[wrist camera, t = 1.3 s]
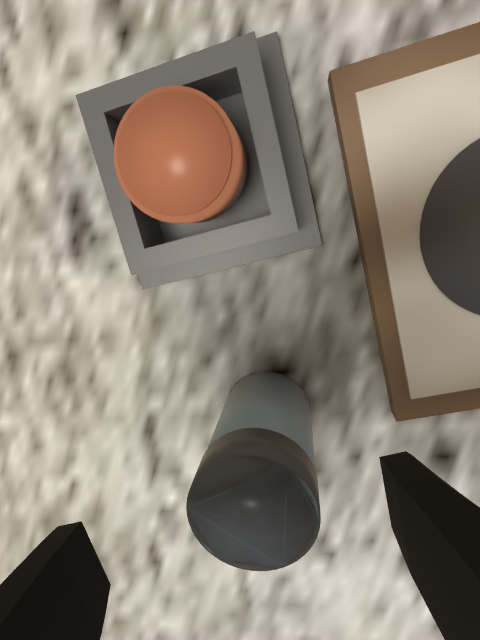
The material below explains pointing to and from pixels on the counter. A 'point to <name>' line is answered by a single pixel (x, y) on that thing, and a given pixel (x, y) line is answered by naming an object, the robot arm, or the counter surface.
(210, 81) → the button housing
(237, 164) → the button
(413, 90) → the cream rectangular board
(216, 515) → the grey canister
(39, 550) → the robot arm
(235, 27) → the counter surface
